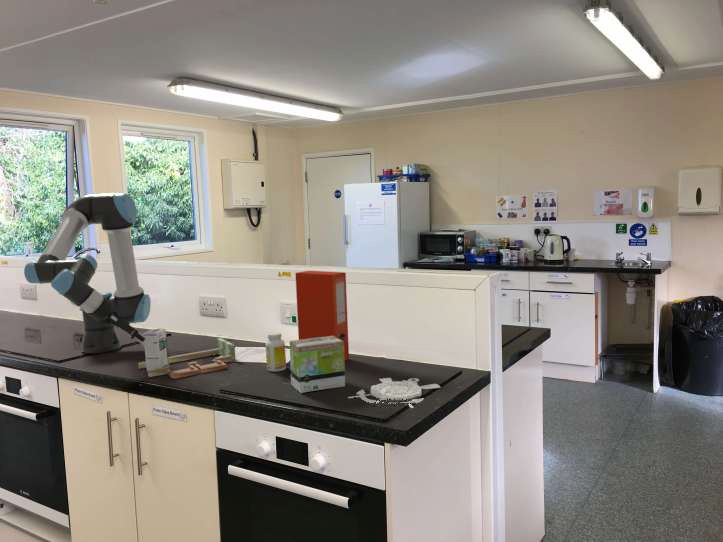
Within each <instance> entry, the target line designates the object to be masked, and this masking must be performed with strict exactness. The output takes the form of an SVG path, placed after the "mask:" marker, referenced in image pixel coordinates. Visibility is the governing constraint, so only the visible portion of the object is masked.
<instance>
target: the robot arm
mask: <svg viewBox="0 0 723 542" xmlns="http://www.w3.org/2000/svg"><path fill="white" fill-rule="evenodd" d="M137 211H138V210H137V206H136V202H135V201H134V199H133V198H132V196H131V195H130V194H128V193H123V192H111V193H98V194H97V193H95V194H94V193H93V194H92V193H91V194H87V195H86V194H85V195H82V196H81V197H79V198H77V199H76V200H74V201H73V202H71V203H70V204H69V205H68V206H67V207H66V208H65V210H64V211H63V213H62V214H61V217H60V219H61V221H60V223H59V225H58V227H57V229H56V230H55V231H54V233H53V235H52V237H51V238H50V240H49V242H47V243H48V244H47V245H46V247H45V248H44V250H43V252H42V253H41V255H40V256H39V258H38V260H37V261H35V260H32V261H29V262H26V264H25V266H24V268H23V269H24V270H23V272H24V273H23V275H24V277H25V280H26V282H28V283H30V284H40V285H42V284H50V286H51V288H53V289H54V290H55V291H56V292H58V294H59V295H61V296H63V297H64V298H66V299H67V300H68V301H70V302H72V303H73V304H74V305H75V306H76V307H78V308H79V311H80V312H81V311H82V320H83V329H84V334H83V338H82V342H81V346H80V347H81V352H82V353H83V352H84V353H83V354H103V353H108V352H112V351H116V350H118V349H120V348H121V347H122V343H121V340H120V337H119V335H118V333H117V331H116V328H119V329H121V330H122V331H123V332H125V333H126V334H128V335H129V336H130V339H131V340H133V339H135V340H136V341H137V342H139V344H141V345H143V347H144V346H145V347H147V348H148V349H149V348H150V346H151V345H152V344H153V343H154V342H152V341H151V340H150V339H148V338H147V337H146V336H144V335H143V333H141V332H140V331H139V330H138V329H136V328H134V327H133V326H132V325H131V324H136V323H137V324H138V323H144V322H146V321H147V319H148V317H149V316H150V311H151V303H152V302H151V297H150V295H149V294H147V293H145V292H144V291H145V290H144V288H143V287H142V286H140V284H139V278H138V273H137V272H138V271H137V265H136V260H135V253H134V247H133V240H132V235H131V234H132V233H131V230H132V228H133V227H134V223H135V222H136V221H137V220H138V215H137V214H138V212H137ZM89 225H101V229H102V230H103V232H105V233H106V234H107V241H108V245H109V250H110V258H111V262H112V263H111V264H112V269H113V270H112V271H113V274H114V280H115V287H116V289H115V291H114V292H113V293H112V292H111V291H109V292H99V291H97V290H96V289H95V288H93V287H92V286H91V285H90V284H89V283H90V281H91V280H92V278H93V276H94V275H95V273H96V270H97V268H98V262H97V260H96V258H95V257H94V256H92V255H90V254H88V253H87V254H86V253H81V254H80V255H77V256H76V257H75V258H74V259H67V258H68V256H69V254H70V252H71V250H72V248H73V246H74V245H75V243H76V241H77V240H78V238H79V236H80V234H81V232H82V231H84V230H85V229H86V228H87V227H88V226H89ZM145 347H144V348H145Z"/></svg>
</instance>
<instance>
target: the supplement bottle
mask: <svg viewBox="0 0 723 542" xmlns="http://www.w3.org/2000/svg"><path fill="white" fill-rule="evenodd" d="M267 339H268V340H267V341H265V357H266V369H267V371H269V372H274V373H276V372H277V373H278V372H283V371H284V370H286V368H287V362H286V361H287V360H286V344H285V341H284V339H282V333H281V332H280V331H278V332H277V331H273V332H269V333H267Z"/></svg>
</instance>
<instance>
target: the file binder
mask: <svg viewBox="0 0 723 542" xmlns="http://www.w3.org/2000/svg"><path fill="white" fill-rule="evenodd" d="M346 274H347V273H346V272H341V271H340V272H339V271H322V270H304V271H299V272H298V271H297V272H295V290H296V291H295V292H296V310H297V312H296V313H297V315H296V316H297V331H298V335H297V336H298V340H302V339H310V338H318V337H327V336H335V337H336V338H338V339H340V340H342V341H343V342H344V356H345V361H348V360H349V359H350V351H349V350H350V349H349V325H348V301H347V300H348V299H347V277H346V276H347V275H346Z"/></svg>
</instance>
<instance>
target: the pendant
mask: <svg viewBox="0 0 723 542" xmlns="http://www.w3.org/2000/svg"><path fill="white" fill-rule="evenodd" d="M378 380H379V381H380V382H381V383H377V384H375V385H371V387H370V393H368V394H366V392H365V390H364V389H361V390H358V392H356V393H355V394H356V395H355V396H354V395H353V396H348V397H347V398H348V399H354V397H356V398H360V399H361V400H362V401H363V400H364V402H365V401H366V403H368V402H369V403H368V404H371V403H374V402H376V404H377V403H379V402H380V401H381V400H386V401H402V402H401V403H409V404H408V405H409V406H408V405H407V406H408V407H409V408H410V409H414V406H413V405H412V404H419V403H421V402H422V401H423V400H424V397H423V398H417V397H421V396H422V390H429V389H438V388H439V389H440V388H442V387H441V386H440V385H439V384H437V383H432V384H426V385H421V386H420V385H418V382H419V381H420V379H419V378H416V377H414V378H408V380H404V379H403V380H401V381H398V380H397V381H395V380H394V381H393V380H392V378H391V377H386V378H385V377H382V378H379V379H378ZM366 396H367V397H368V396H372V397H374V398H375V397H376V399H377V401H376V399H369V398H367V397H366ZM378 398H379V399H378ZM387 399H388V400H387ZM389 399H391V400H389ZM394 399H395V400H394ZM402 399H403V400H402ZM406 399H407V400H409V401H408V402H405V401H404V400H406ZM379 400H380V401H379ZM403 401H404V402H403ZM382 403H384V402H382ZM389 403H390V404H391V403H393V404H394V403H395V404H396V403H397V402H389ZM389 403H388V404H389ZM410 403H411V404H410Z"/></svg>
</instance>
